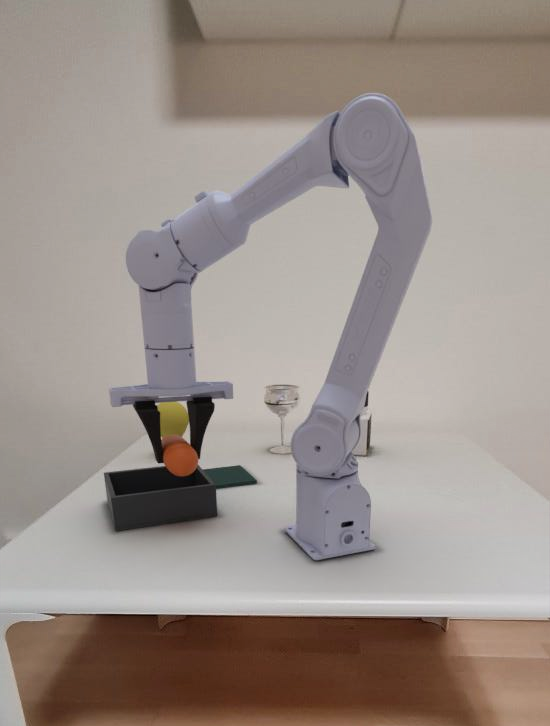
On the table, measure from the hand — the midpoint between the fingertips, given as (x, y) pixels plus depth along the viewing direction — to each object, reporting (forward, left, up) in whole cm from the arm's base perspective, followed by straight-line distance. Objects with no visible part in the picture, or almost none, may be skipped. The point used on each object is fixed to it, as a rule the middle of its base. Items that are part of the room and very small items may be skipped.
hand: (178, 459), depth 69 cm
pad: (+15, -9, -8) cm, 20 cm away
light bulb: (+33, -5, -9) cm, 34 cm away
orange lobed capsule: (0, 0, -1) cm, 1 cm away
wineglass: (+28, -25, -9) cm, 38 cm away
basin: (+5, +2, -8) cm, 10 cm away
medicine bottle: (+23, -37, -9) cm, 44 cm away
